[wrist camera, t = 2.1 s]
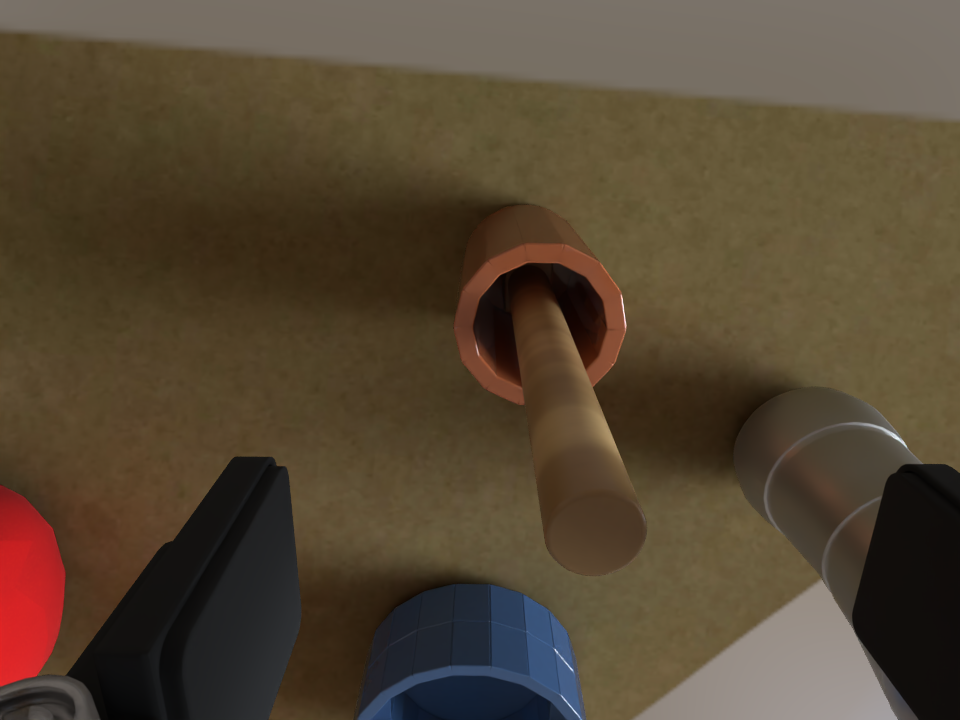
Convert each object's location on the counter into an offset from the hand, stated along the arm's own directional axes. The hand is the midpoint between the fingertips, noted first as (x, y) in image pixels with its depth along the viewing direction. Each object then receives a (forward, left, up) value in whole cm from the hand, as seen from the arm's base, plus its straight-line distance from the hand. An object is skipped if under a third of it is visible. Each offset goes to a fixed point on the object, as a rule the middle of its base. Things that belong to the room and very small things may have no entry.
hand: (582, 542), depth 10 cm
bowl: (+22, -2, -20) cm, 29 cm away
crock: (0, 0, -20) cm, 20 cm away
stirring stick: (0, 0, -19) cm, 19 cm away
